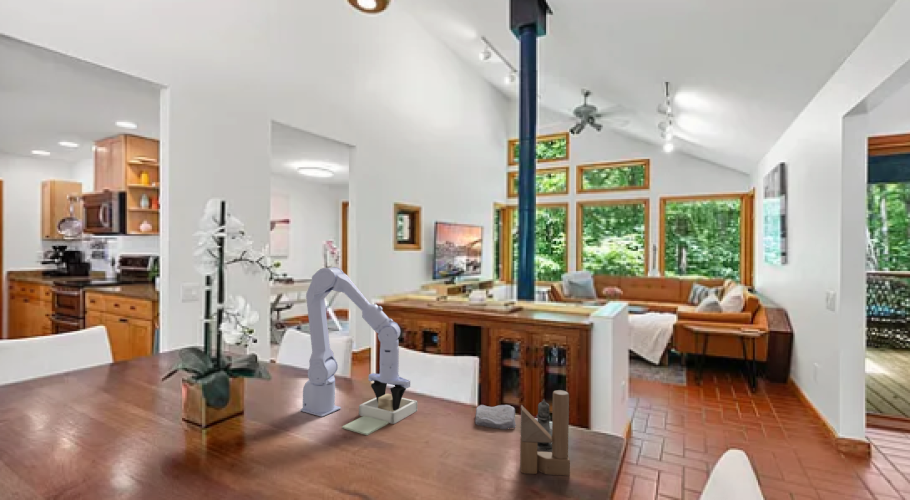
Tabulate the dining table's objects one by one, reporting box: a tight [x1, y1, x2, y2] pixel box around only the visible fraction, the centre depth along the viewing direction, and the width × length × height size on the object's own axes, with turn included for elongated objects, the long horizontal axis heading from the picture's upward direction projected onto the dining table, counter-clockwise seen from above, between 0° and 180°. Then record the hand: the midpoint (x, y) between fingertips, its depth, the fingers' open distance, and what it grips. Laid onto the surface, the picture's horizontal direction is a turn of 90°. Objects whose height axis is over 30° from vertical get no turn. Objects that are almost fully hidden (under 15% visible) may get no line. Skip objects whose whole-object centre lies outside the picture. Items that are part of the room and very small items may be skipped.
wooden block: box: [519, 389, 571, 477], centre depth 96 cm, size 4×11×18 cm, turn 85°
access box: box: [358, 397, 418, 425], centre depth 129 cm, size 13×12×3 cm
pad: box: [341, 416, 389, 436], centre depth 119 cm, size 9×9×1 cm
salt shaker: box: [536, 398, 552, 451], centre depth 108 cm, size 6×6×12 cm
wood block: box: [378, 393, 398, 412], centre depth 129 cm, size 4×4×5 cm
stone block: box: [475, 404, 517, 430], centre depth 123 cm, size 12×5×10 cm
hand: (388, 407), depth 129 cm, fingers open, 5 cm apart
